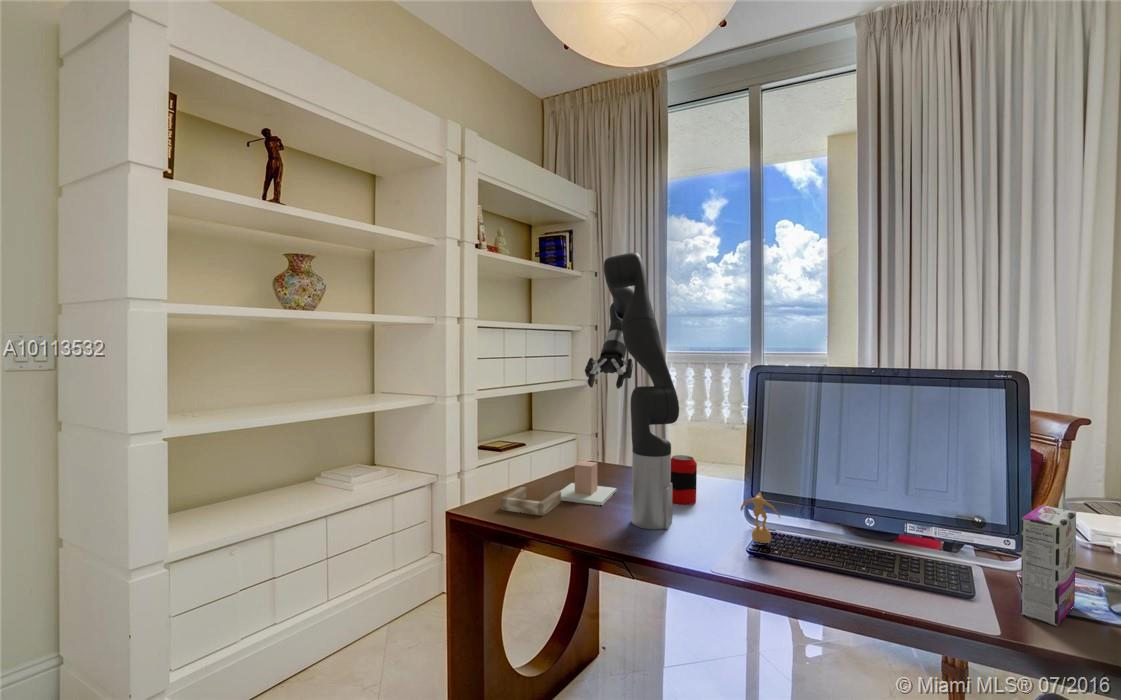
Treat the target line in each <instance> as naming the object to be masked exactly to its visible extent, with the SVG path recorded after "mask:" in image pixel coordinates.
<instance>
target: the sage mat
mask: <svg viewBox="0 0 1121 700" xmlns="http://www.w3.org/2000/svg"><path fill="white" fill-rule="evenodd" d="M617 490H618V489H617V488H616V487H611V486H601V485H597V491H596V492H595V493H593V494H592V495H587V494H579V493H575V482H571V483H569V484H568V485H566V486H565V487H564V488H562V489H561V490H559V492H561V501H565V502H570V503H571V502H573V503H577V504H578V503H579V504H585V505H586V504H587V505H593V504H594V505H593V506H600V505H602V506H603V505H604V504H605V503H607V501H608V500H609V499H611V498H612V497H613V494H614V493H615V492H616V491H617ZM616 493H617V492H616ZM616 493H615V494H616ZM615 494H614V495H615Z"/></svg>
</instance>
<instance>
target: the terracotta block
mask: <svg viewBox="0 0 1121 700" xmlns="http://www.w3.org/2000/svg"><path fill="white" fill-rule="evenodd" d="M574 483H575V493H579V494H587V495H592V494H593V493H595V492H596V491H597V486H598V462H596V461H595V462H594V461H584V460H580V461H578V462H577V463H575V464H574Z"/></svg>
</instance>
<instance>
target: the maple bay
mask: <svg viewBox="0 0 1121 700" xmlns="http://www.w3.org/2000/svg"><path fill="white" fill-rule="evenodd" d="M559 491H560V490H559ZM559 491H557V490H556V491H554V492H553V493H551V494H550V495H548V496H547V497H545V498H544V499H543V500H541V501H538V500H530V499H526V498H527V487H525V486H520V487H518V488H516V489H515V490H514V491H511V492H510V493H508V494H506V495H504V496H503V497H502V498H501V502H500V503H501V510H502V511H505V512H507V511H508V512H514V513H520V512H521V514H528V515H534V514H535V516H540V515H541V517H543V516H545V514H546V515H547V514H548V513H550V512H551V511H552V510H553V509H554V508H556V507H558V505H560V504H561V503H562V500H561V492H559ZM501 510H500V511H501Z"/></svg>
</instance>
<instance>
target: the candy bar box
mask: <svg viewBox="0 0 1121 700" xmlns="http://www.w3.org/2000/svg"><path fill="white" fill-rule="evenodd" d="M1076 534H1077V511H1073V510H1069V509H1064V508H1059V507H1053V506H1051V505H1042V504H1041V505H1038V507H1036V508H1035V509H1033V510H1032V511H1030V512H1029V513H1027V514H1026V515H1024V516H1023V517H1021V550H1020V551H1021V553H1020V555H1021V565H1020V566H1021V574H1020V576H1021V577H1020V580H1021V581H1020V583H1021V585H1020V615H1022V616H1024V615H1025V616H1024V617H1026V616H1027V618H1029V617H1030V618H1029V619H1032V618H1033V620H1035V619H1036V620H1035V621H1038V622H1042V623H1045V624H1048V625H1051V626H1055V627H1059V625H1061V623H1063V621H1064V620H1065V618H1066V617H1067V616H1068V614H1069V613H1070V612H1071V611H1072V610H1071V608H1072V607H1073V606H1074V604H1075V605H1076V602H1075V601H1076V600H1075V598H1076V590H1075V589H1076V548H1077V547H1076V546H1077V545H1076V541H1077V540H1076V539H1077V537H1076V536H1077V535H1076ZM1074 607H1075V606H1074ZM1074 607H1073V608H1074ZM1070 610H1071V611H1070ZM1069 611H1070V612H1069ZM1068 612H1069V613H1068ZM1066 615H1067V616H1066Z"/></svg>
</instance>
